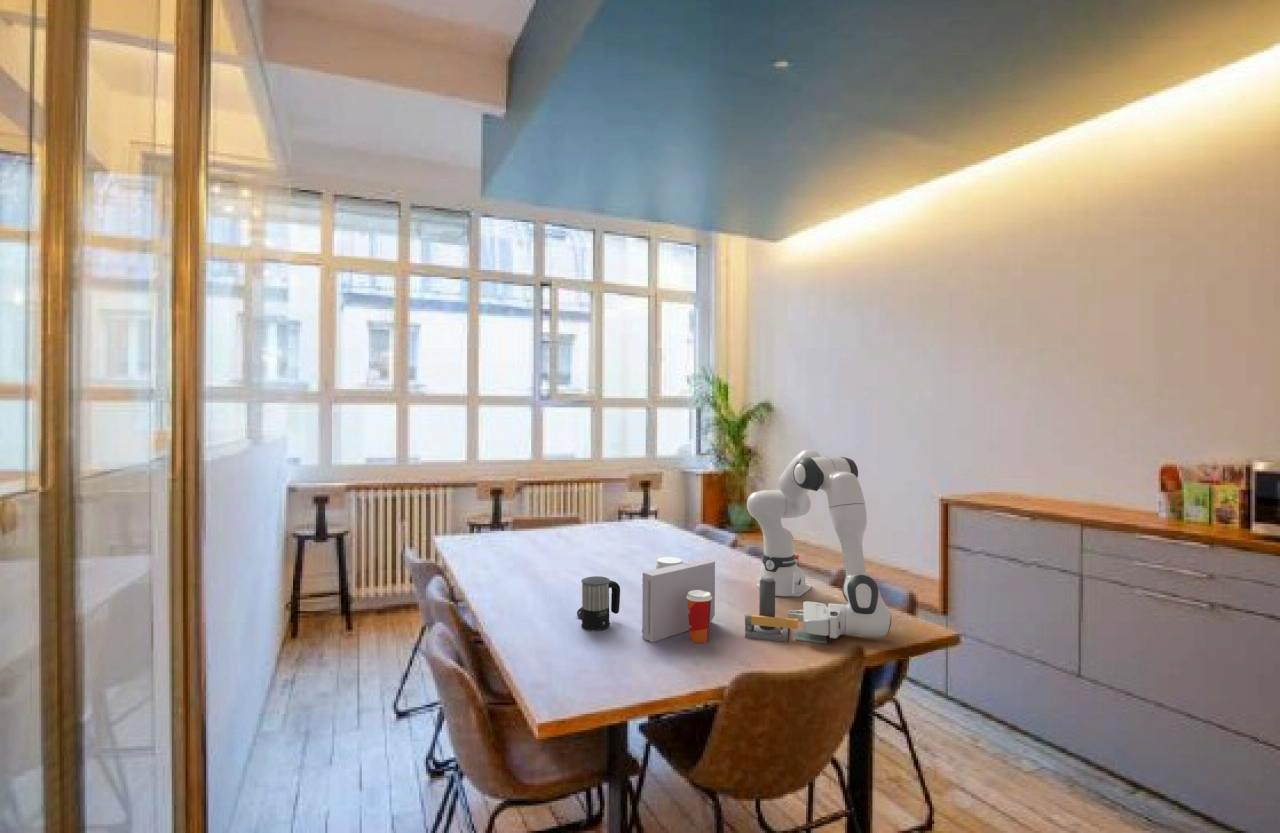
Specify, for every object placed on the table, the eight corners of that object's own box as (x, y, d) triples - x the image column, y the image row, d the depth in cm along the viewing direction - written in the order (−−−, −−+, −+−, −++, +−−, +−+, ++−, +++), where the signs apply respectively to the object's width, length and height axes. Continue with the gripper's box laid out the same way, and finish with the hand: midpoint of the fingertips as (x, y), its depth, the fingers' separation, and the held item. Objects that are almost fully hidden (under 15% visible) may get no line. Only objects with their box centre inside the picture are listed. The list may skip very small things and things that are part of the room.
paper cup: (695, 633, 186) (695, 587, 186) (716, 639, 181) (716, 592, 181) (680, 640, 180) (681, 593, 180) (702, 646, 175) (702, 598, 175)
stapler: (744, 624, 184) (744, 616, 184) (745, 622, 186) (745, 613, 186) (797, 629, 180) (797, 620, 180) (797, 627, 182) (797, 618, 182)
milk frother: (598, 633, 185) (598, 585, 185) (558, 623, 193) (559, 577, 193) (624, 620, 197) (624, 575, 197) (586, 611, 205) (586, 568, 205)
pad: (795, 629, 189) (795, 628, 189) (825, 632, 186) (825, 631, 186) (795, 640, 180) (795, 639, 180) (826, 643, 178) (826, 642, 178)
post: (745, 632, 186) (745, 622, 186) (751, 633, 185) (751, 623, 185) (744, 635, 184) (744, 624, 184) (751, 635, 184) (751, 625, 184)
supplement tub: (651, 602, 216) (651, 561, 216) (661, 594, 225) (661, 555, 225) (676, 605, 212) (677, 564, 212) (686, 598, 221) (686, 558, 221)
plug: (755, 626, 192) (755, 573, 191) (780, 629, 189) (781, 575, 189) (753, 635, 184) (753, 580, 184) (779, 638, 182) (780, 582, 182)
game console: (639, 637, 182) (639, 571, 182) (701, 617, 200) (702, 558, 200) (651, 642, 178) (652, 575, 178) (714, 622, 195) (714, 561, 195)
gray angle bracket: (748, 623, 194) (748, 619, 194) (788, 627, 191) (788, 622, 191) (745, 637, 182) (745, 632, 182) (787, 641, 179) (787, 637, 179)
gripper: (832, 598, 194) (788, 594, 197) (836, 619, 174) (787, 614, 178) (832, 617, 194) (788, 614, 197) (836, 640, 174) (787, 636, 178)
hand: (787, 614), depth 187 cm, fingers closed
